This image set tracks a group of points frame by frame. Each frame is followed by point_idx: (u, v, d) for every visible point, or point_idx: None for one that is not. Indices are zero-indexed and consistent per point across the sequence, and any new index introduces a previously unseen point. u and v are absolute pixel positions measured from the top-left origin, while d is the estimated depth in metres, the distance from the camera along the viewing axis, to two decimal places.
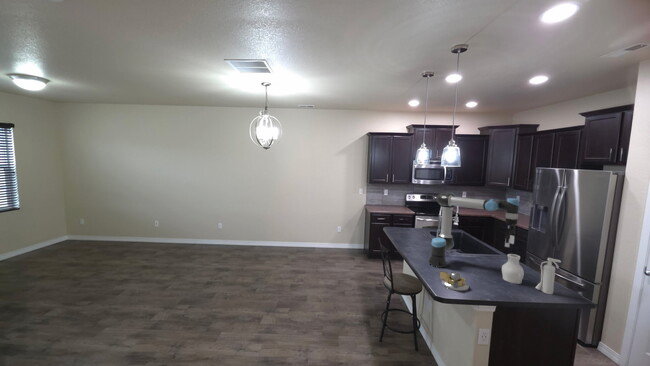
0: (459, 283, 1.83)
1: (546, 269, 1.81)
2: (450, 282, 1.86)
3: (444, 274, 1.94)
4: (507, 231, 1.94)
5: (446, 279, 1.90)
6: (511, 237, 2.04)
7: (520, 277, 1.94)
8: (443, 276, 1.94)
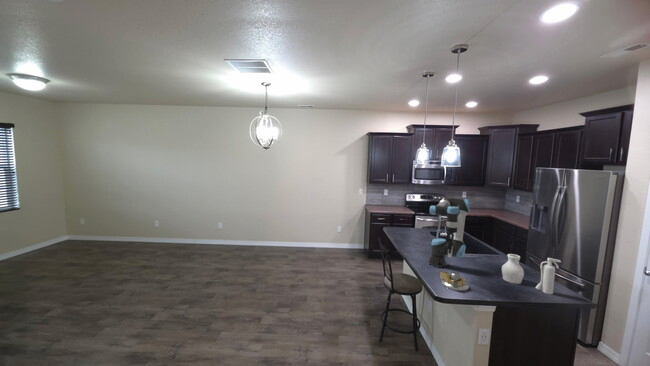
0: (459, 283, 1.83)
1: (546, 269, 1.81)
2: (450, 282, 1.86)
3: (444, 274, 1.94)
4: None
5: (446, 279, 1.90)
6: None
7: (520, 277, 1.94)
8: (443, 276, 1.94)
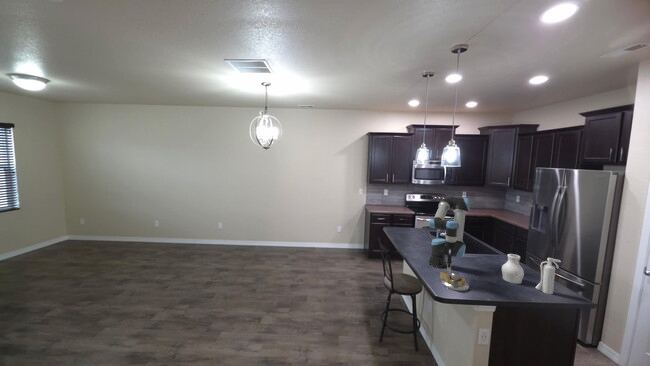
0: (459, 283, 1.83)
1: (546, 269, 1.81)
2: (450, 282, 1.86)
3: (444, 274, 1.94)
4: None
5: (446, 279, 1.90)
6: None
7: (520, 277, 1.94)
8: (443, 276, 1.94)
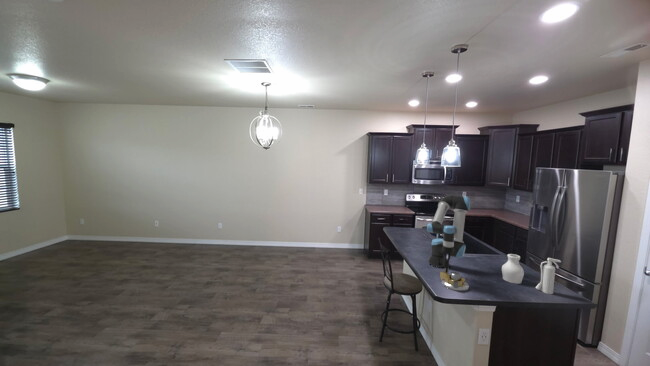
0: (459, 283, 1.83)
1: (546, 269, 1.81)
2: (450, 282, 1.86)
3: (444, 274, 1.94)
4: None
5: (446, 279, 1.90)
6: None
7: (520, 277, 1.94)
8: (443, 276, 1.94)
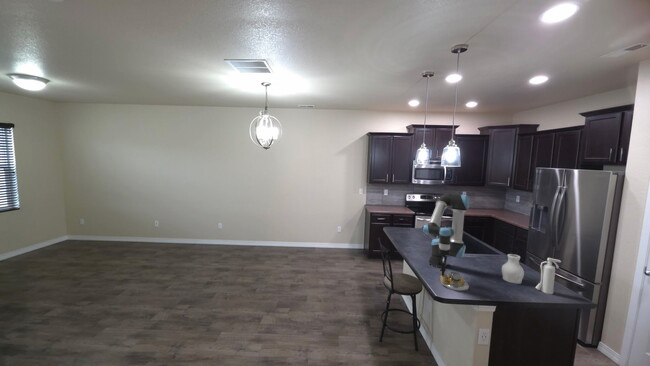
0: (464, 282, 1.85)
1: (546, 269, 1.81)
2: (459, 284, 1.83)
3: (446, 278, 1.87)
4: None
5: (452, 282, 1.85)
6: None
7: (520, 277, 1.94)
8: (445, 280, 1.87)
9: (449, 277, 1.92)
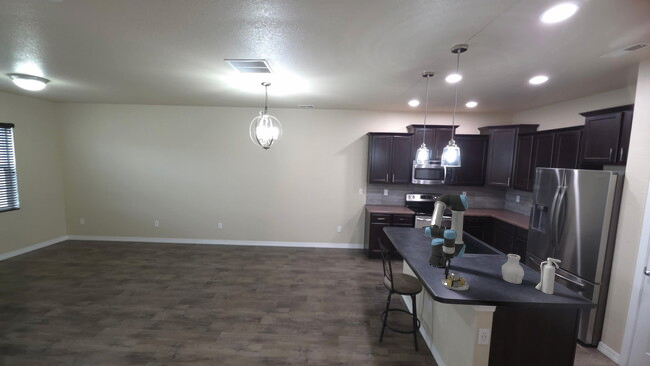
0: None
1: (546, 269, 1.81)
2: (463, 283, 1.84)
3: (453, 280, 1.83)
4: None
5: (458, 283, 1.83)
6: None
7: (520, 277, 1.94)
8: (452, 283, 1.83)
9: None
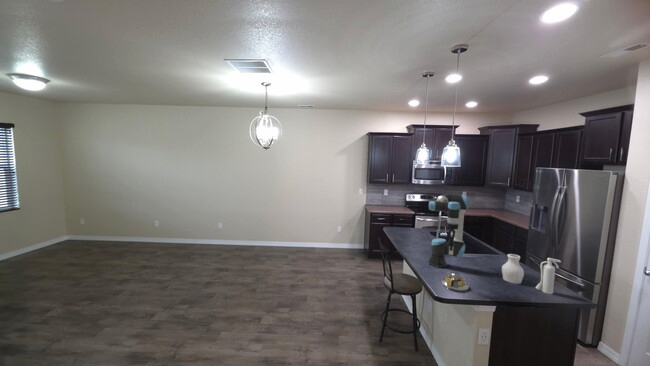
0: None
1: (546, 269, 1.81)
2: (463, 283, 1.84)
3: (453, 280, 1.83)
4: None
5: (458, 283, 1.83)
6: None
7: (520, 277, 1.94)
8: (452, 283, 1.83)
9: None
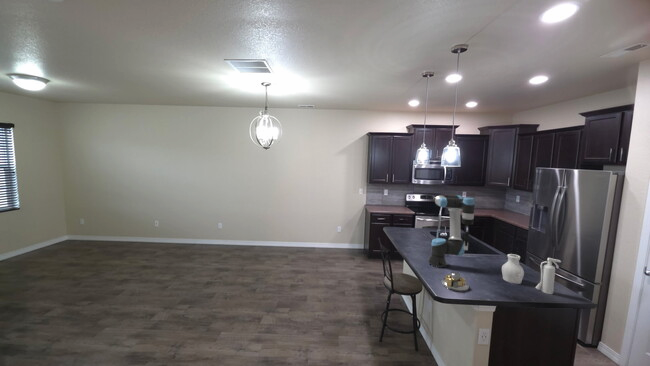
0: None
1: (546, 269, 1.81)
2: (463, 283, 1.84)
3: (453, 280, 1.83)
4: None
5: (458, 283, 1.83)
6: None
7: (520, 277, 1.94)
8: (452, 283, 1.83)
9: None
